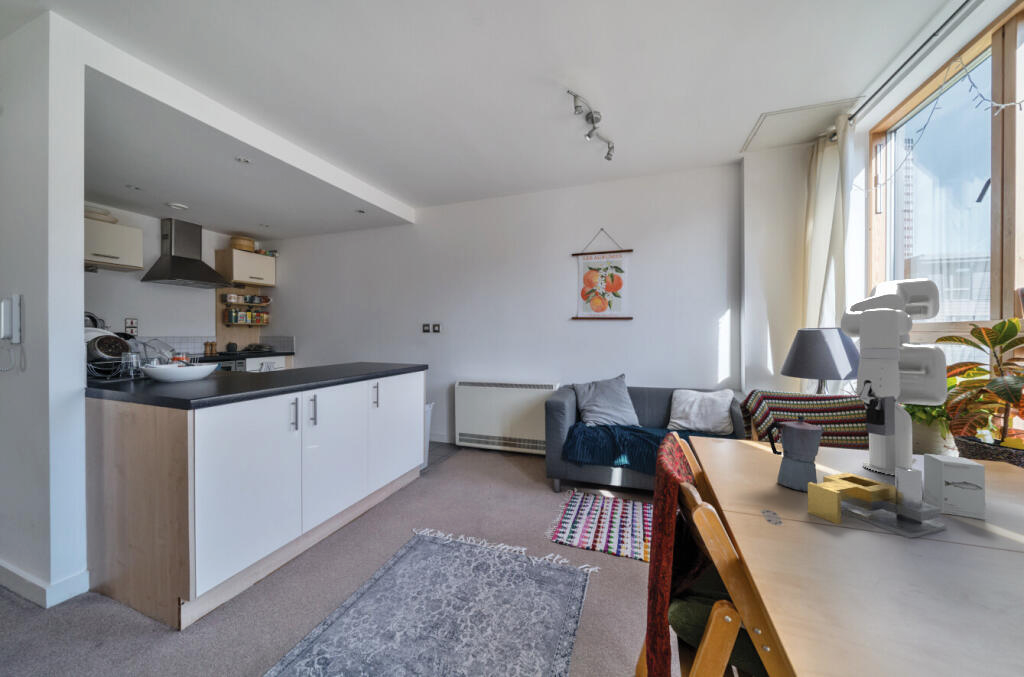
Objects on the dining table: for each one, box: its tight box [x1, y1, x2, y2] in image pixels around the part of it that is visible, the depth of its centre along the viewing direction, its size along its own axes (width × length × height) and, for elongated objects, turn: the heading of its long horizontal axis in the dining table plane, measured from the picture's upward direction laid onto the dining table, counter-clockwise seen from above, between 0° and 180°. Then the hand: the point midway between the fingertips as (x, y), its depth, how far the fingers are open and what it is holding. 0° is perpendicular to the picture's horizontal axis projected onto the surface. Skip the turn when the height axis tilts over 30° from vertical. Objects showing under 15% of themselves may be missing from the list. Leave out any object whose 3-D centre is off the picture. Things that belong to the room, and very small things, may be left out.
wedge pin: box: [865, 395, 895, 436], centre depth 96 cm, size 4×4×11 cm
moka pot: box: [765, 415, 826, 493], centre depth 101 cm, size 10×15×20 cm, turn 89°
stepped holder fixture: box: [807, 467, 947, 539], centre depth 83 cm, size 21×16×12 cm
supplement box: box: [923, 453, 986, 521], centre depth 87 cm, size 7×7×13 cm
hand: (880, 423), depth 96 cm, fingers closed on wedge pin, 4 cm apart
